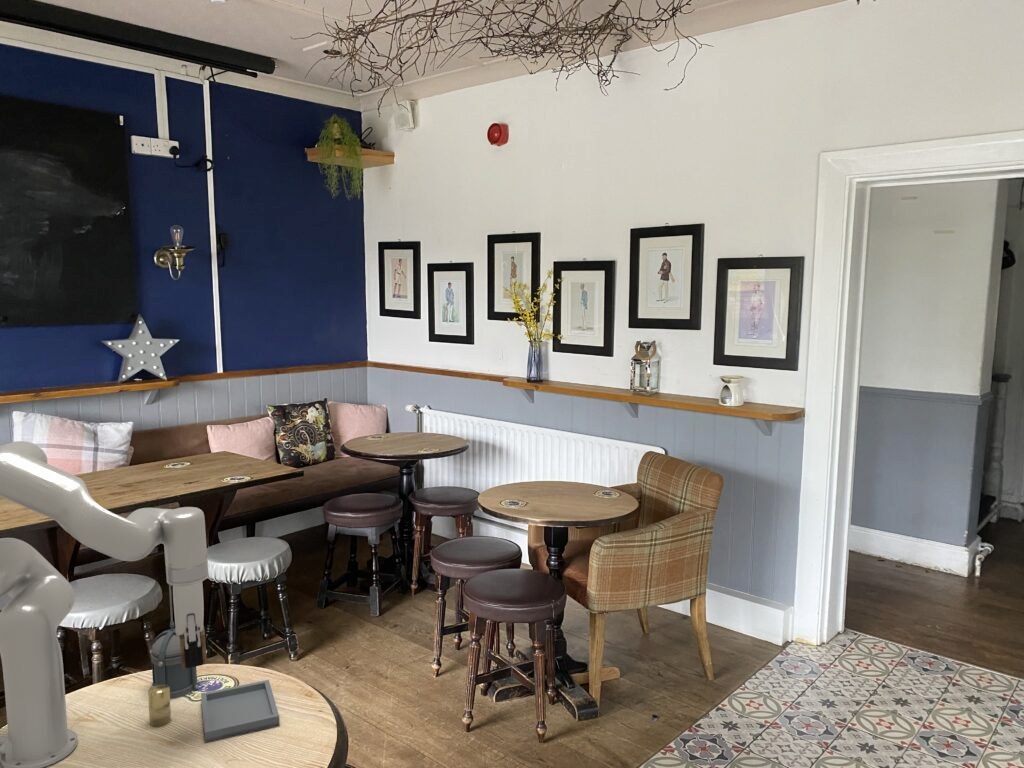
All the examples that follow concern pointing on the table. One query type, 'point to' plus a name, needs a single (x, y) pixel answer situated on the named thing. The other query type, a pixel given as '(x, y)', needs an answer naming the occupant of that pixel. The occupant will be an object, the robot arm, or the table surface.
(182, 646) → the walnut block
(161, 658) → the lantern
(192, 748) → the table surface
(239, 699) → the tray
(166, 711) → the brass cylinder
